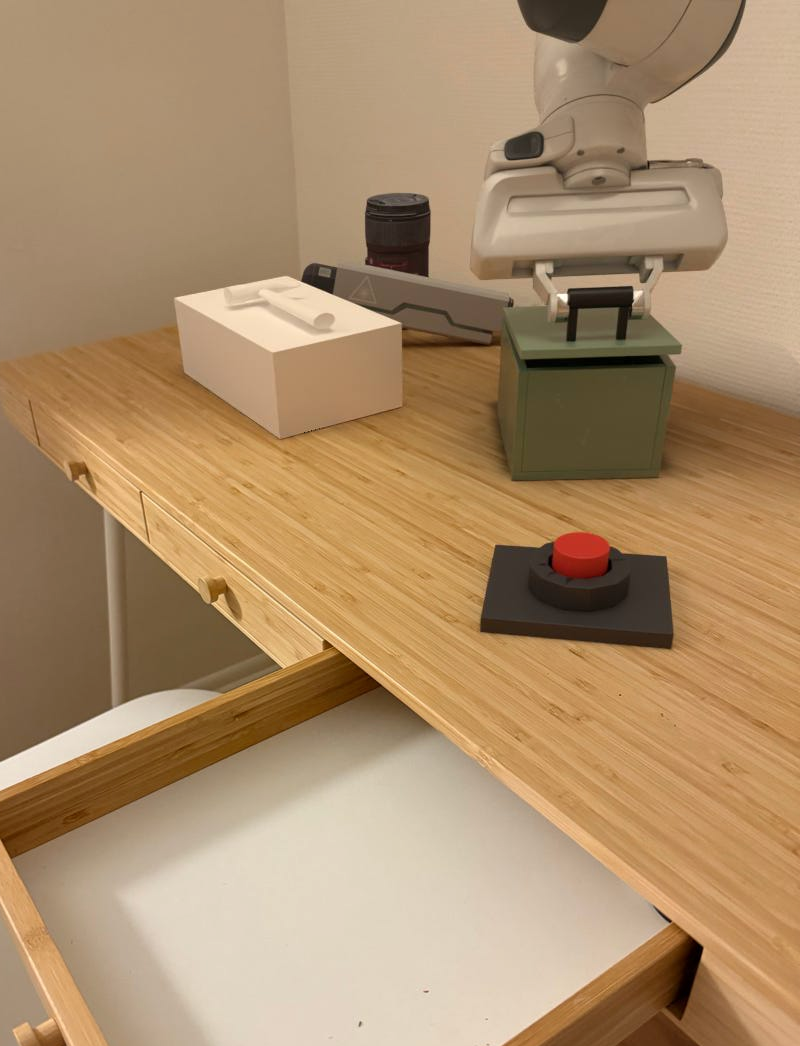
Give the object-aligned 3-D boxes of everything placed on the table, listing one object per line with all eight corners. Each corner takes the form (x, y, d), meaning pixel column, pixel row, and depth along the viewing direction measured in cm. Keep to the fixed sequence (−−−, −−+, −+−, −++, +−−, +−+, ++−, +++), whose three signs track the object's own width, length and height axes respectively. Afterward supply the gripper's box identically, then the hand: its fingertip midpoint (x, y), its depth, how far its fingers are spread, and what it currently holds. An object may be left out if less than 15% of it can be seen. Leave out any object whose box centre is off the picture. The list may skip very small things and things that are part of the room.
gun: (293, 335, 118) (306, 252, 113) (491, 375, 119) (514, 293, 113) (290, 341, 116) (303, 257, 110) (492, 382, 117) (515, 299, 111)
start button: (607, 556, 65) (610, 533, 64) (606, 583, 62) (610, 560, 61) (553, 552, 66) (555, 530, 65) (550, 579, 63) (552, 556, 62)
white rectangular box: (291, 348, 118) (285, 255, 112) (402, 406, 100) (401, 299, 94) (184, 372, 113) (170, 276, 107) (280, 439, 95) (270, 327, 88)
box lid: (681, 354, 76) (689, 290, 73) (520, 359, 77) (523, 296, 75) (637, 311, 90) (643, 255, 88) (502, 316, 91) (504, 261, 89)
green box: (658, 477, 83) (676, 366, 77) (511, 480, 84) (518, 371, 78) (624, 411, 96) (637, 311, 90) (497, 414, 97) (502, 316, 91)
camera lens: (385, 335, 120) (383, 207, 112) (357, 320, 126) (352, 197, 118) (441, 324, 123) (443, 198, 114) (410, 310, 129) (410, 189, 121)
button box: (662, 582, 69) (670, 533, 66) (668, 662, 61) (678, 610, 59) (493, 569, 72) (496, 522, 69) (479, 645, 64) (481, 594, 61)
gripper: (708, 183, 81) (719, 332, 79) (466, 195, 83) (469, 341, 81) (733, 131, 75) (745, 291, 73) (471, 145, 77) (474, 302, 75)
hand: (598, 318), depth 77 cm, fingers closed on box lid, 5 cm apart
